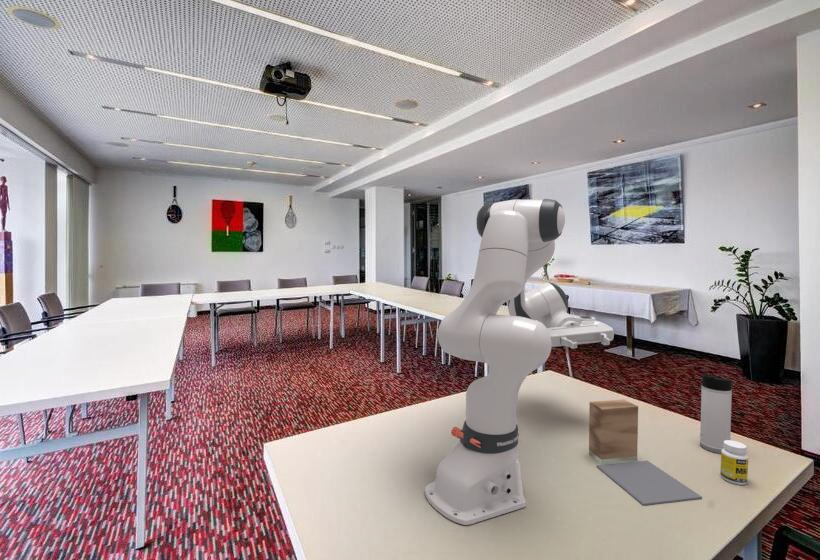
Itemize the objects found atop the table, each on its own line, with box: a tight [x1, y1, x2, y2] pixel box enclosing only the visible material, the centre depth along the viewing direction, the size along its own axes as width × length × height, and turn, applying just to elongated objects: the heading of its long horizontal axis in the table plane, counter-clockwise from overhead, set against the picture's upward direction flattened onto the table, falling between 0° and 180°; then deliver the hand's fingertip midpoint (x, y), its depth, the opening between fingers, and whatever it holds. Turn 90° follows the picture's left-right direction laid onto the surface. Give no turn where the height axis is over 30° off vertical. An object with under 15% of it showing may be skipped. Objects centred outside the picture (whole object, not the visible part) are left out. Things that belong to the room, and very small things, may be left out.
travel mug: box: [699, 373, 733, 455], centre depth 101 cm, size 6×7×20 cm
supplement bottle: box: [719, 439, 749, 486], centre depth 87 cm, size 5×5×8 cm
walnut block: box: [588, 398, 639, 465], centre depth 97 cm, size 5×10×14 cm, turn 99°
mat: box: [596, 459, 703, 507], centre depth 86 cm, size 15×14×1 cm
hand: (591, 344), depth 105 cm, fingers open, 8 cm apart
